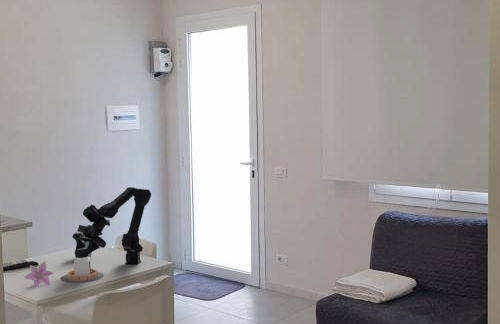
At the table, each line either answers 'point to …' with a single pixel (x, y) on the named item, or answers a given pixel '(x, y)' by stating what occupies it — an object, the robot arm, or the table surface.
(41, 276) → the lily
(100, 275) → the rubber mat
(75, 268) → the medicine bottle
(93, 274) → the terracotta bowl
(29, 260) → the table surface
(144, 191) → the robot arm
